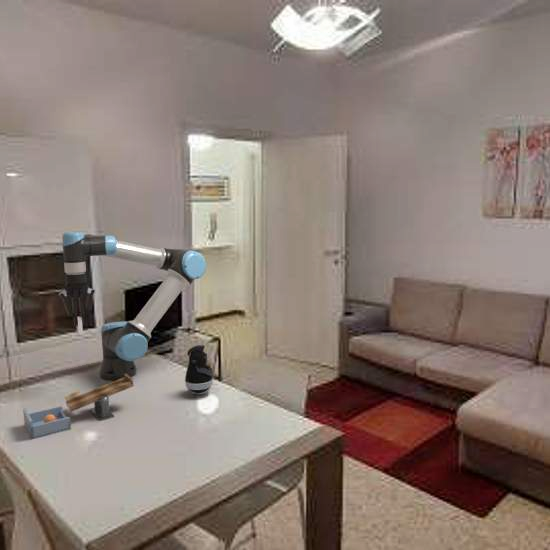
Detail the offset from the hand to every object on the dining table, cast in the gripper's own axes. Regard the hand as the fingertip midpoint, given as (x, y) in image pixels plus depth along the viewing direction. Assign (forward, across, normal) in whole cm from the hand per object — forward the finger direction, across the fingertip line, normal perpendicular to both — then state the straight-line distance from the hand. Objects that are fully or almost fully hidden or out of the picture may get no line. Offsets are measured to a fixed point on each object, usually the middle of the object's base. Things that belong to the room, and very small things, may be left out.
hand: (80, 333), depth 191 cm
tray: (+24, +18, +23) cm, 38 cm away
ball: (+22, +17, +23) cm, 36 cm away
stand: (+24, 0, +23) cm, 34 cm away
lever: (+18, 0, +20) cm, 26 cm away
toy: (+25, -36, +28) cm, 52 cm away
